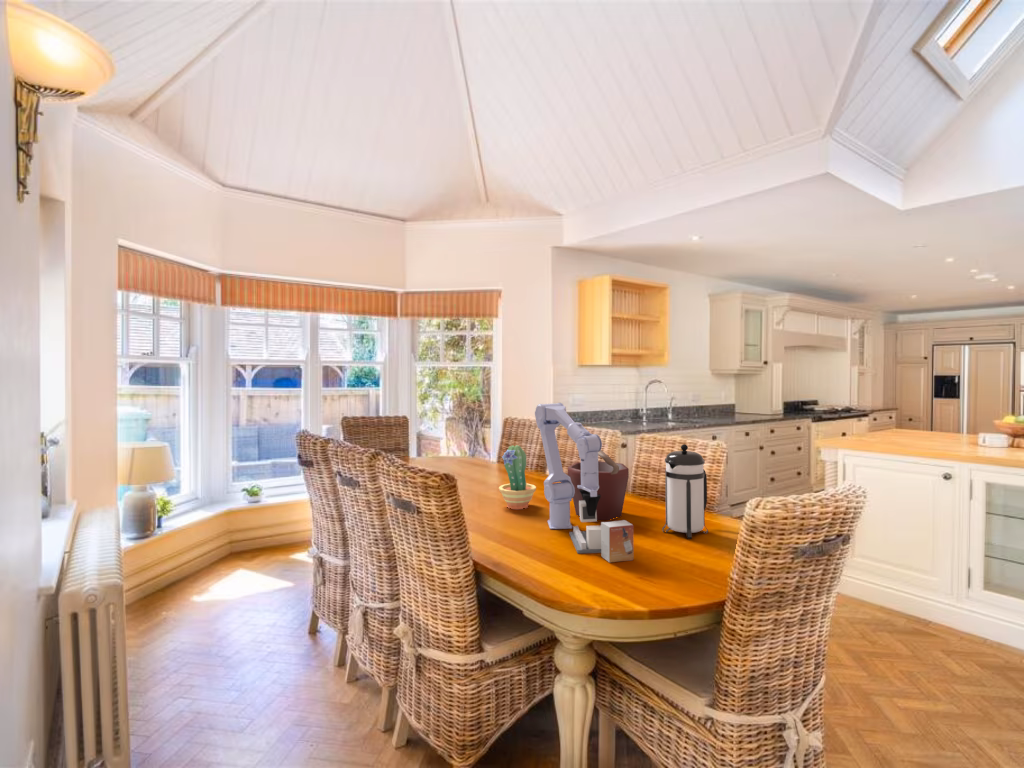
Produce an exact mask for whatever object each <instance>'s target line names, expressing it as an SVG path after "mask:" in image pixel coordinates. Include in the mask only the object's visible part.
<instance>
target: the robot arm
mask: <svg viewBox="0 0 1024 768" xmlns="http://www.w3.org/2000/svg"><path fill="white" fill-rule="evenodd" d="M534 417H535V421H536V426H537V428H538V429H539V432H540V438H541V441H542V446H543V451H544V456H545V462H546V465H547V471H548V476H547V477H546V479H545V480H544V481H543V486H544V488H543V489H544V490H543V492H544V493H543V494H544V498H545V499H546V500H547V502H548V503H549V519H548V520H547V524H548V527H549V529H550V530H562V529H563V530H567V529H569V530H570V529H573V525H572V522H571V502H572V501H573V497H574V494H575V488H574V485H573V484H572V482H571V478H570V477H569V476H568V474H566V472H564V469H563V465H562V460H561V455H560V450H559V445H558V441H557V436H556V431H555V430H556V429H557V428H558V427H560V425H561V426H562V427H564V428H565V429H566V434H567V436H568V437H569V438H570V439H571V440H573V442H574V443H575V444H576V449H577V451H578V457H579V459H580V462H581V485H577V488H579V489H581V490H579V491H580V493H581V495H582V498H583V500H585V502H586V507H587V513H588V516H595V513H596V508H597V504H598V501H599V499H600V497H601V495H600V494H597V491H598V489H599V479H598V461H599V455H598V452H599V451H600V450H602V448H603V442H602V441H603V440H602V439H601V437H600V436H599V434H597V433H595V434H593V433H591V432H590V431H589V430H588V429H587V428H585V427H584V425H583V423H581V422H577V421H574V420H573V419H572V417H571V416H570V415H569V413H567V407H566V406H565V405H564V403H561V402H557V403H539V404H537V405H536V408H535V411H534Z"/></svg>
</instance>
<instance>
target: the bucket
mask: <svg viewBox="0 0 1024 768" xmlns="http://www.w3.org/2000/svg"><path fill="white" fill-rule="evenodd" d="M598 457H600V458H601V459H603V461H600V460H598V479H599V489H598V491H597V494H600V495H601V497H600V499H599V501H598V504H597V508H596V511H597V520H610V519H613V518H616V517H619V518H621V517H622V514H623V508H624V504H625V503H624V502H625V499H626V494H627V487H628V482H629V477H630V476H629V475H630V474H629V472H630V471H629V469H630V468H629V467H627V466H626V465H625V464H624V463H620V462H615V461H614V460H613V459H612V458H611V456H609V455H608V454H607V453H605V451H603V450H602V449H601V450H600V451H599V452H598ZM567 475H568V476H569V477H570V478H571V482H572V484H573V485H574V488H575V494H574V497H573V498H572V501H573V505H574V510H575V515H576V516H577V515H578V516H577V517H579V501H582V500H583V498H582V495H581V493H580V491H579V490H581V489H579V488H577V485H581V461H579V462H575V463H572V464H571V465H569V466H567ZM620 516H621V517H620ZM616 519H617V518H616ZM613 520H614V519H613ZM610 521H611V520H610Z"/></svg>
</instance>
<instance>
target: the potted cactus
mask: <svg viewBox="0 0 1024 768" xmlns="http://www.w3.org/2000/svg"><path fill="white" fill-rule="evenodd" d="M501 458H502V460H503V465H504V466H503V467H504V468H505V471H506V473H507V476H508V480H509V483H505V484H501V485H500V486H499V487H498V490H499V493H501V495H502V498H503V500H504V501H505V503H506V507H508V508H507V509H510V508H511V510H524V509H523V508H525V509H527V508H529V507H528V506H529V503H530V502H531V501H532V499H533V496H534V494H535V492H536V491H537V490H536V489H537V486H536V485H534V484H530V483H527V481H526V472H525V471H526V469H527V467H526V466H527V454H526V451H525V450H523V448H522V446H520V445H517V444H516V445H510V446H508V448H507V450H506V451H505V452H503V455H502V456H501Z"/></svg>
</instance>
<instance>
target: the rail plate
mask: <svg viewBox="0 0 1024 768" xmlns="http://www.w3.org/2000/svg"><path fill="white" fill-rule="evenodd" d="M572 527H573V528H572V529H573V530H572V531H569V537H570V539H571V541H572V544H573V546H574V548H575V551H576V552H577V554H601V524H600V525H586V527H585V528H586V530H585V531H582V530H580V528H579V525H576V526H575V525H572Z"/></svg>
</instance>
